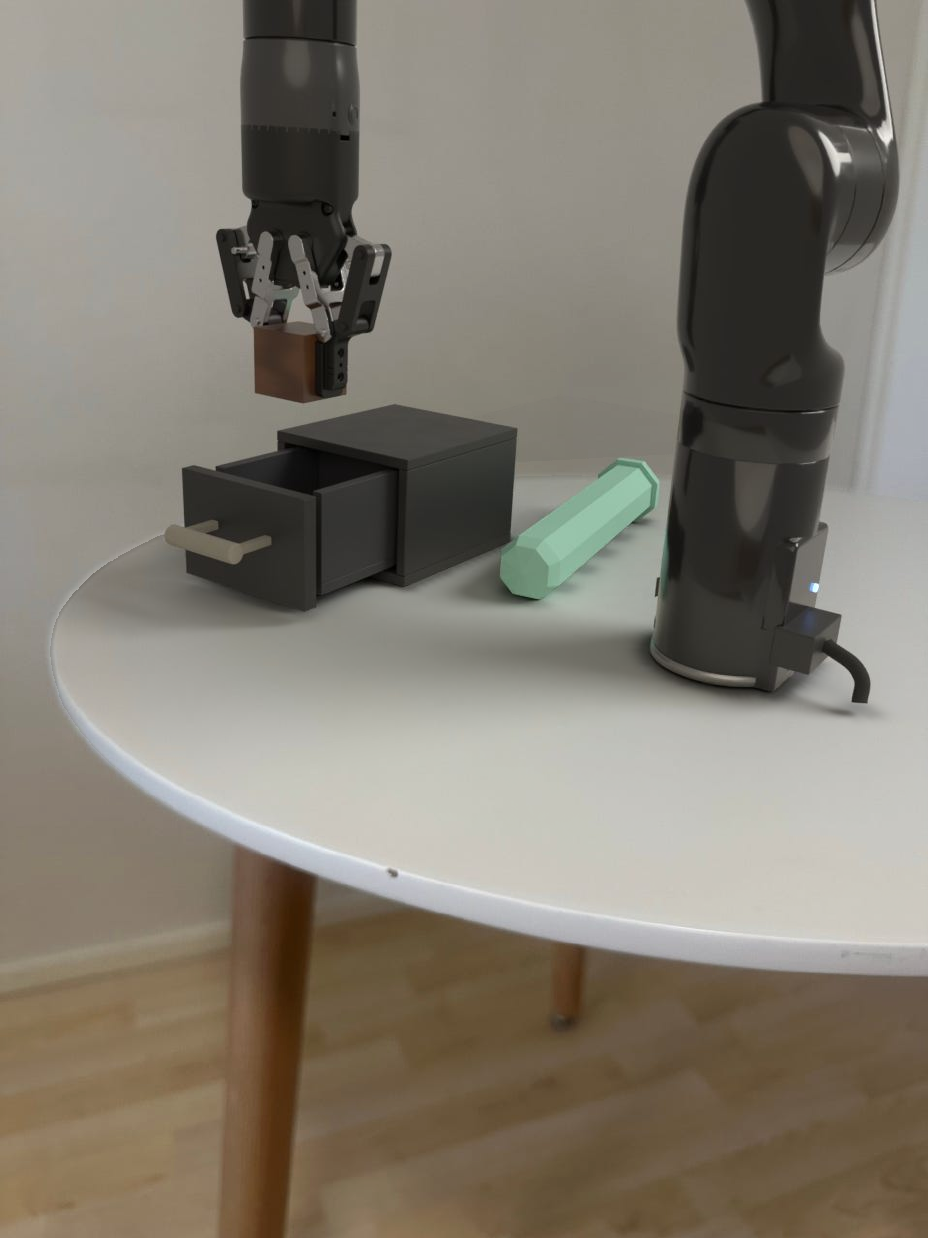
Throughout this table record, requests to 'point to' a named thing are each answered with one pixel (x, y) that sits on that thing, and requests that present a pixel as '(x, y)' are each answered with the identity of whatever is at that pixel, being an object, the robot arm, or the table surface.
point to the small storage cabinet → (429, 480)
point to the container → (578, 528)
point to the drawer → (289, 523)
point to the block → (286, 361)
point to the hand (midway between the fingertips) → (301, 389)
